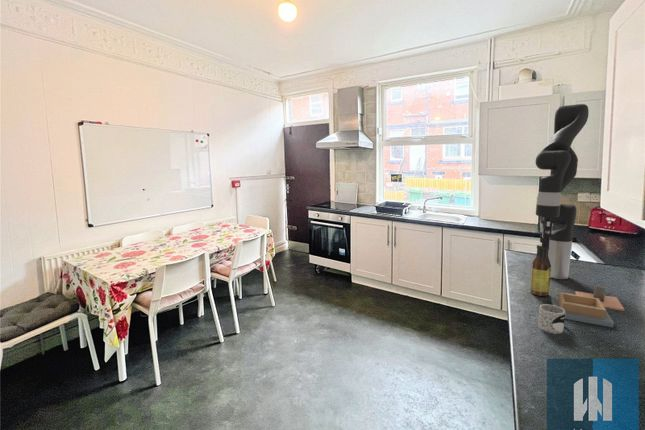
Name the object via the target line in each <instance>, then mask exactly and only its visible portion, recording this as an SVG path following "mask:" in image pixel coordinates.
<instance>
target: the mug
mask: <svg viewBox="0 0 645 430" xmlns="http://www.w3.org/2000/svg"><path fill="white" fill-rule="evenodd" d="M538 310H539V311H538V319H537V320H538V321H537V328H539V329H540V330H541V331H543V332H546V333H548V334H554V335H560V334H563V333H564V327H565V320H566V319H565V310H564V309H563V308H560V307H558V306H554V305H552V304H547V303H546V304H540V306H539V309H538Z"/></svg>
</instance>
